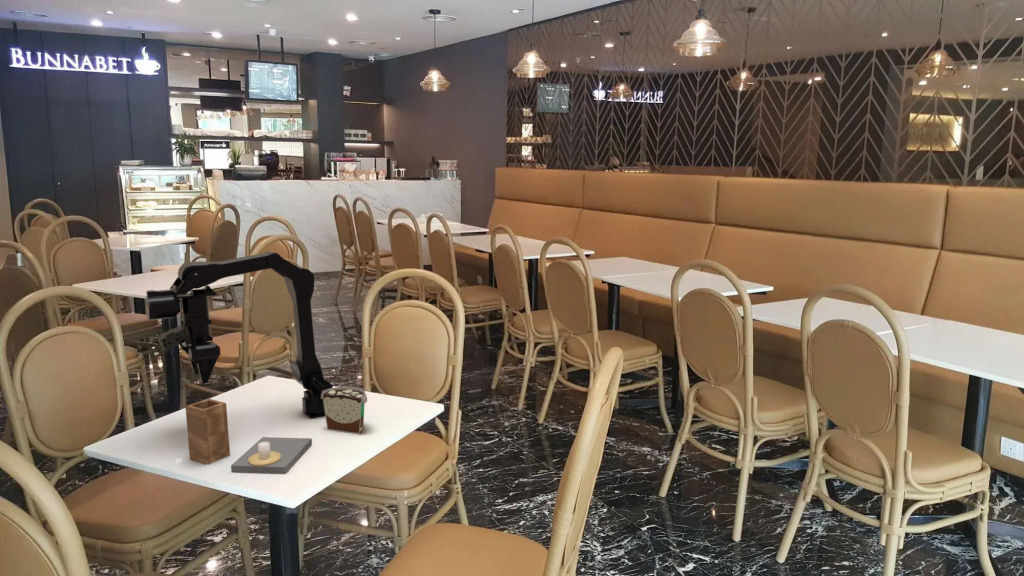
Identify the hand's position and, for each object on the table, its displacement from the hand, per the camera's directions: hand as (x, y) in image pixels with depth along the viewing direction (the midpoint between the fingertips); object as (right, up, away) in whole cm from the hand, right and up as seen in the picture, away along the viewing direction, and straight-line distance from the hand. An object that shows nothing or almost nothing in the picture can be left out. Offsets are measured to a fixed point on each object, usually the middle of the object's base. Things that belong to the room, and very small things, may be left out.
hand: (200, 378), depth 167 cm
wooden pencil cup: (+7, -17, -10) cm, 20 cm away
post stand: (+21, -17, -10) cm, 29 cm away
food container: (+34, -14, +8) cm, 38 cm away
